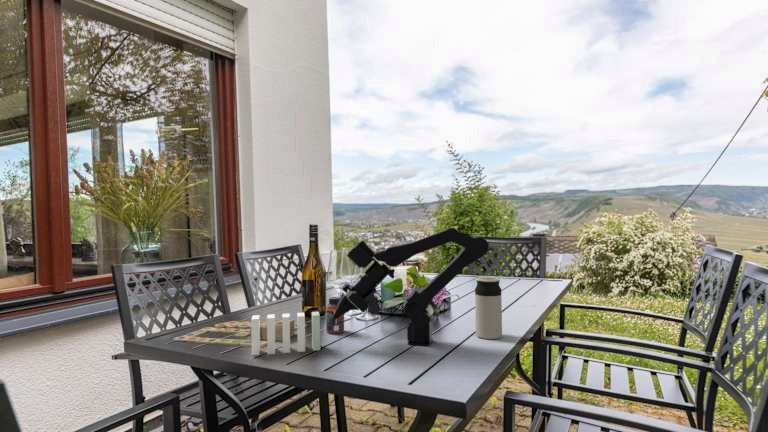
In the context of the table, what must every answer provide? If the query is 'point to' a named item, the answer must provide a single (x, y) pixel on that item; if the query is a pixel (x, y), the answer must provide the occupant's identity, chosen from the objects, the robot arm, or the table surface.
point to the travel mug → (488, 308)
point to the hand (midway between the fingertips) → (334, 318)
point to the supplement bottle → (331, 323)
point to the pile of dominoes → (237, 333)
